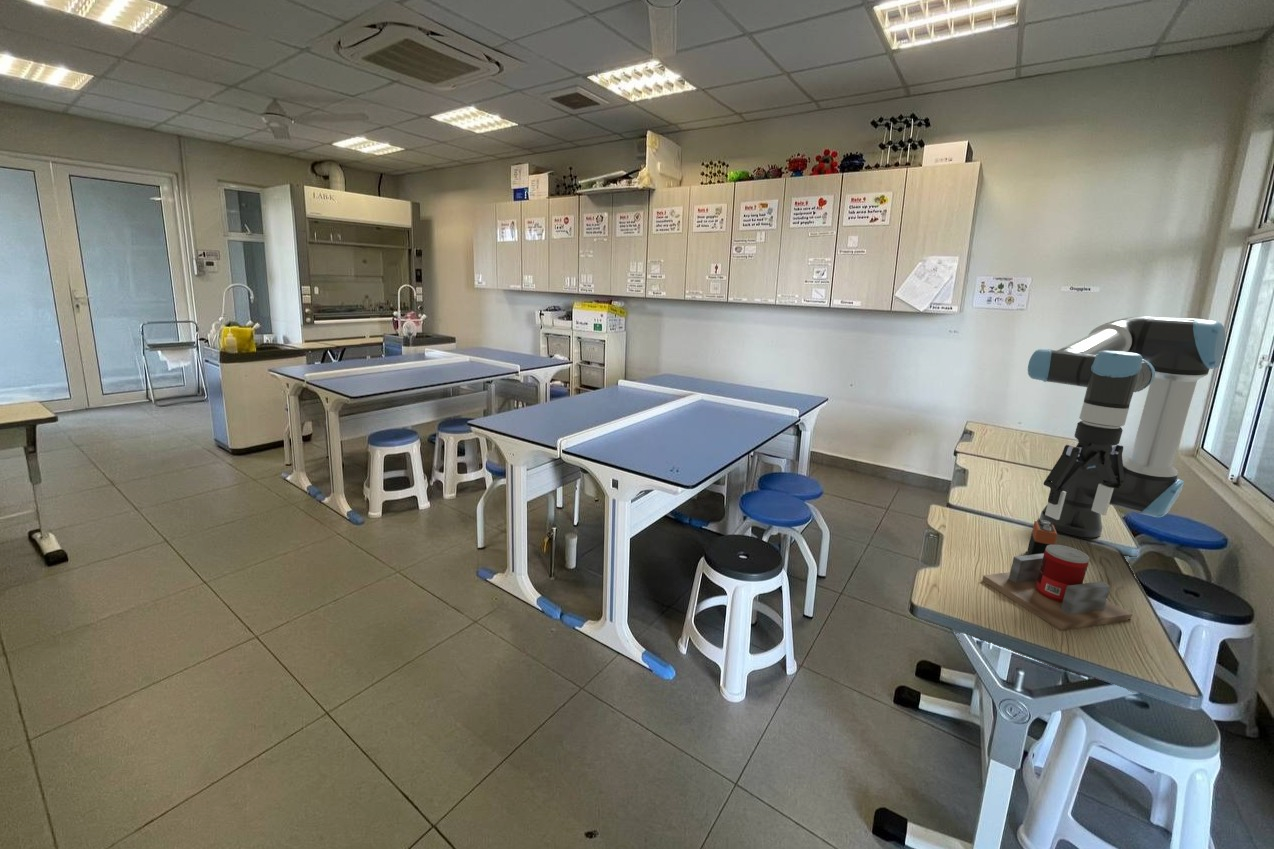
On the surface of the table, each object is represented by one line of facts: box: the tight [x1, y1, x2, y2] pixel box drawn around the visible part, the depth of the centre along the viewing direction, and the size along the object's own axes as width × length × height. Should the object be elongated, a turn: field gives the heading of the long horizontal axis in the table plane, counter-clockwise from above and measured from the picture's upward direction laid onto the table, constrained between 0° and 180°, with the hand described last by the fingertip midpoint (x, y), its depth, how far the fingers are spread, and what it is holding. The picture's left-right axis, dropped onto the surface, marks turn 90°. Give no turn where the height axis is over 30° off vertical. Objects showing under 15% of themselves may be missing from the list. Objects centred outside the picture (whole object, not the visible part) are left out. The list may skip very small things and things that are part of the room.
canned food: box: [1036, 544, 1090, 602], centre depth 125 cm, size 8×8×11 cm
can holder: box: [981, 553, 1133, 631], centre depth 126 cm, size 20×20×8 cm
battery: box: [1027, 520, 1058, 555], centre depth 145 cm, size 4×7×10 cm, turn 150°
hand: (1075, 515), depth 121 cm, fingers open, 13 cm apart
